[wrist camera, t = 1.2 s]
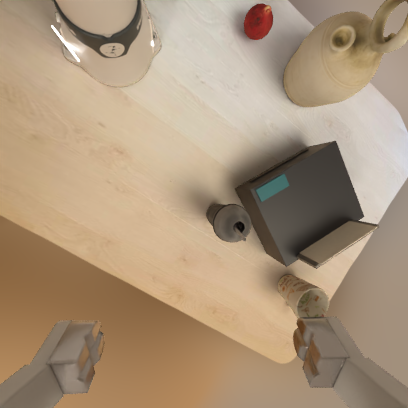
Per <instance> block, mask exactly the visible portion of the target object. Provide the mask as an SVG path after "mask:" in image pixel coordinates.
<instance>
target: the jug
mask: <svg viewBox="0 0 408 408" xmlns="http://www.w3.org/2000/svg"><path fill="white" fill-rule="evenodd" d="M404 1H407V2H408V0H386V1H385V2H384V3H383V4H382V5H381V6H380V8H379V9H378V11H377V12H376V14H375V16H374V18H373V20H372V19H371V18H369V17H368V16H366V15H365V14H362V13H359V12H345V13H340V14H337V15H334V16H332V17H330V18H328V19H326V20H325V21H323V22H322V23H320V24H319V25H318V26H316V27H315V28H314V29H313V30H312V31H311V32H310V33H309V35H308V36H307V37H306V38H305V40H304V41H303V42H302V44H301V45H300V47H299V48H298V50H297V51H296V52H295V54H294V55H293V56H292V58H291V59H290V61H289V63H288V64H287V66H286V68H285V71H284V76H283V83H284V88H285V91H286V93H287V95H288V97H289V98H290V99H291V100H292V102H294V103H295V104H297V105H299V106H302V107H316V106H321V105H327V104H332V103H337V102H340V101H343V100H346V99H347V98H349V97H351V96H353V95H355V94H356V93H357V92H359V91H360V90H361V89H362V88H364V87H365V86H366V85H367V84H368V82H369V81H370V80H371V79H372V77H373V76H374V74H375V73H376V71H377V69H378V67H379V64H380V61H381V58H382V55H383V54H384V53H389V52H392V51H394V50H396V49H398V48H400V47H401V46H403V45H404V44H405V43H406V42H407V41H408V15H407V18H406V20H405V22H404V24H403V26H402V28H401V29H400V31H399V32H398V33H397V34H394V33H391V34H390V35H389V36H388V37H383V32H384V26H385V23H386V21H387V18H388V17H389V15H390V14H391V12H392V11H393V10H394V9H395V8H396V7H397V6H398V5H399V4H400V3H402V2H404Z"/></svg>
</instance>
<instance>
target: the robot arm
mask: <svg viewBox="0 0 408 408" xmlns="http://www.w3.org/2000/svg"><path fill="white" fill-rule="evenodd" d="M52 1H53V3H54V5H55V7H56V9H57V12H55V17H56V20H57V22H60V26H61V28H60V29H59V30H60V33H61V35H60V34H59V33H58V32H57V30H56V29H55V28H54V26H53V25H52V26H51V27H52V28H53V30H54V31H55V32H56V34H57V35H58V36H59V37H60V39H61V40H62V46H63V54H64V56H65V58H66V59H67V60H68V61H70V62H71V63H73V64H76V65H78V66H80V67H82V68H83V69H84V70H85V71H86V72H87V73H88V74H89V75H91V76H92V77H93V78H94V79H96V80H97V81H99V82H101V83H103V84H106V85H109V86H113V87H125V86H129V85H132V84H134V83H136V82H138V81H139V80H140V79H141V78H142V77H143V76H144V75H145V74H146V72H147V71H148V69H149V66H150V63H151V61H152V58H153V57H154V56H155V55H156V54H157V53H158V52H159V51H160V49H161V41H160V38H159V36H158V34H157V31H156V29H155V26H154V24H153V22H152V19H151V17H150V15H149V12H148V10H147V8H146V5H145V3H144V0H52ZM61 36H62V37H61ZM153 37H154V38H155V39H153ZM297 326H298V328H297V329H296V330H295V331H294V335H293V340H294V346H295V350H296V353H297V355H298V357H299V358H301V359H302V360H303V361H304V364H303V370H304V373H305V375H306V378H307V380H308V383H309V385H310V387H325V388H326V387H329V388H333V390H334V391H335V392H336V393H337V394H338V396H339V397H340V398H341V399H342V400H343V401H344V402H345V403H346V404H347V405H348V407H349V408H408V388H407V387H406V386H405V385H403V384H402V383H401V382H399V381H398V380H397V379H396V378H394V377H393V376H391V375H390V374H389V373H387V372H386V371H385V370H384V369H383V368H381V367H380V366H379V365H377V364H376V363H375V362H373V361H372V360H371V359H369V358H364V356H363V355H362V353H361V352H360V350H359V349H358V347H357V346H356V344H355V342H354V341H353V339H352V338H351V336H350V335H349V333H348V332H347V330H346V329H345V327H344V326H343V324H342V323H341V321H340V320H339V319H338V318H337V317H300V318H298V320H297ZM100 328H101V324H100V321H72V320H70V321H59V322H58V323H56V324H55V326H54V327H53V329H52V331H51V332H50V333H49V335H48V337H47V338H46V340H45V341H44V343H43V344H42V346H41V348H40V349H39V351H38V352H37V354H36V356H35V357H34V358H33V360H32V362H31V363H30V365H24V366H23V367H22V368H21V369H20V370H18V371H17V372H16V373H14V374H13V375H12V376H10V377H9V378H8V379H7V380H5V381H4V382H3V383H1V384H0V408H53V407H54V406H55V405H56V404H57V403H58V402H59V400H60V399H61V398H62V397H63V394H76V393H87V392H88V390H89V387H90V385H91V382H92V380H93V377H94V374H95V370H94V365H95V364H96V363H97V362H98V361H99V360H100V358H101V355H102V352H103V348H104V335H103V333H102V332H100Z"/></svg>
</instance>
